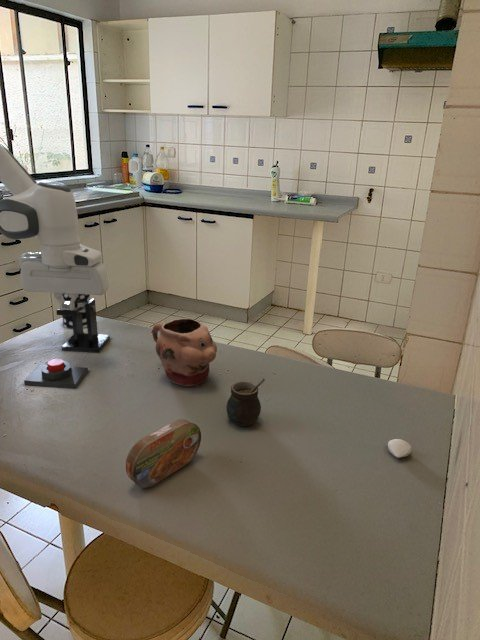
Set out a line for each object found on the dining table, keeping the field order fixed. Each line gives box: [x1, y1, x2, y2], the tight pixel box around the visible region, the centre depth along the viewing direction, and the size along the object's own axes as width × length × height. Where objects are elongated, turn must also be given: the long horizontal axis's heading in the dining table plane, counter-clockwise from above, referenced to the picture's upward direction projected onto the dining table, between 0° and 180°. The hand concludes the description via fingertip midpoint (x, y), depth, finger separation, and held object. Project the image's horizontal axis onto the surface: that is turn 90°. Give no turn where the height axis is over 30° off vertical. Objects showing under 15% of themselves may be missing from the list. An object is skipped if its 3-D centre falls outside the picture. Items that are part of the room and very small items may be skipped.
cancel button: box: [46, 358, 65, 372], centre depth 109 cm, size 4×4×2 cm
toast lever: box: [56, 302, 87, 316], centre depth 119 cm, size 12×5×2 cm, turn 177°
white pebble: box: [387, 438, 412, 459], centre depth 88 cm, size 4×5×2 cm
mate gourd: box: [225, 378, 266, 427], centre depth 95 cm, size 7×8×10 cm
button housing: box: [23, 360, 89, 389], centre depth 109 cm, size 12×8×3 cm, turn 87°
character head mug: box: [151, 317, 218, 387], centre depth 111 cm, size 20×12×14 cm, turn 58°
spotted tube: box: [61, 293, 91, 329], centre depth 137 cm, size 8×8×20 cm
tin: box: [125, 418, 202, 489], centre depth 80 cm, size 15×3×8 cm, turn 137°
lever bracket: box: [61, 297, 111, 354], centre depth 125 cm, size 9×10×13 cm
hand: (67, 309), depth 113 cm, fingers closed
